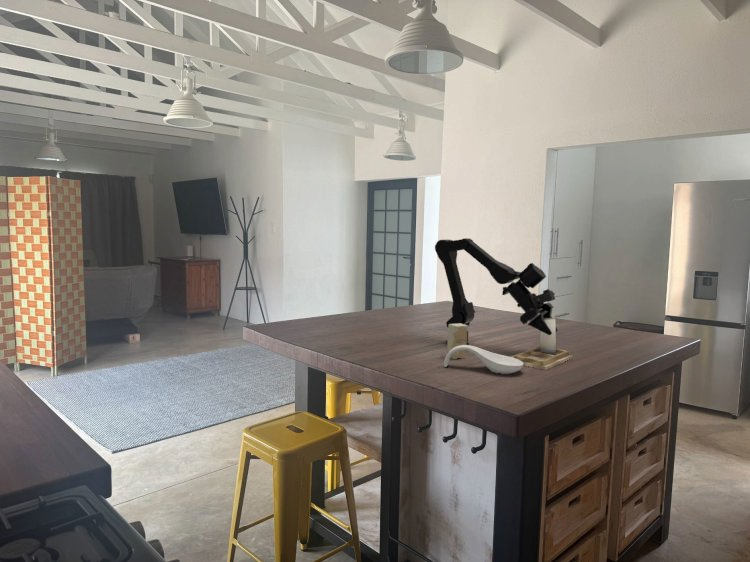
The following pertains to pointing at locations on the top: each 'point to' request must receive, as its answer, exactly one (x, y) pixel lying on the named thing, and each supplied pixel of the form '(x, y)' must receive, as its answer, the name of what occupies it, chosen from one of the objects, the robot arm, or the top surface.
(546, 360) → the bay board
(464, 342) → the box
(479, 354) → the spoon rest
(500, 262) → the robot arm
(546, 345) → the sleeve
